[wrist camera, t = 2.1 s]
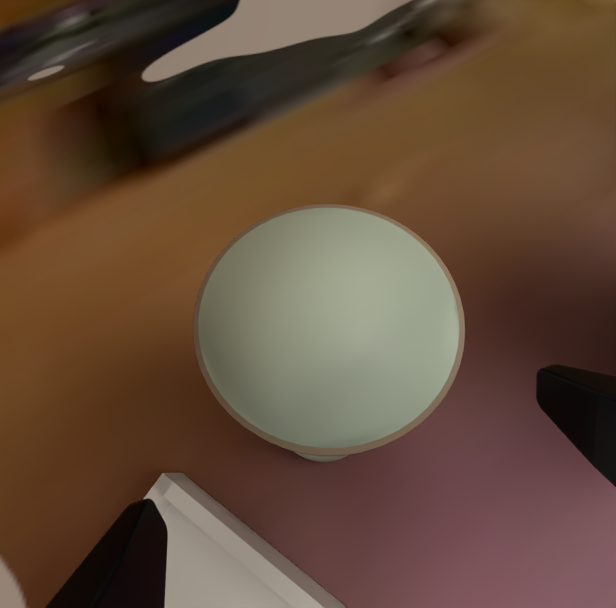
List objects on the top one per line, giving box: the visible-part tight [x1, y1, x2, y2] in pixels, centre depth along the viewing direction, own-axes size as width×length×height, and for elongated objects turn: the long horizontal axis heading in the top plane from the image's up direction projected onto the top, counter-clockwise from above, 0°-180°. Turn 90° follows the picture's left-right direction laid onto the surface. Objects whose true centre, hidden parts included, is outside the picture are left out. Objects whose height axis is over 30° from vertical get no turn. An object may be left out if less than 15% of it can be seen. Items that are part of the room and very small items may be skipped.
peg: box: [193, 204, 465, 462], centre depth 12 cm, size 5×5×12 cm
